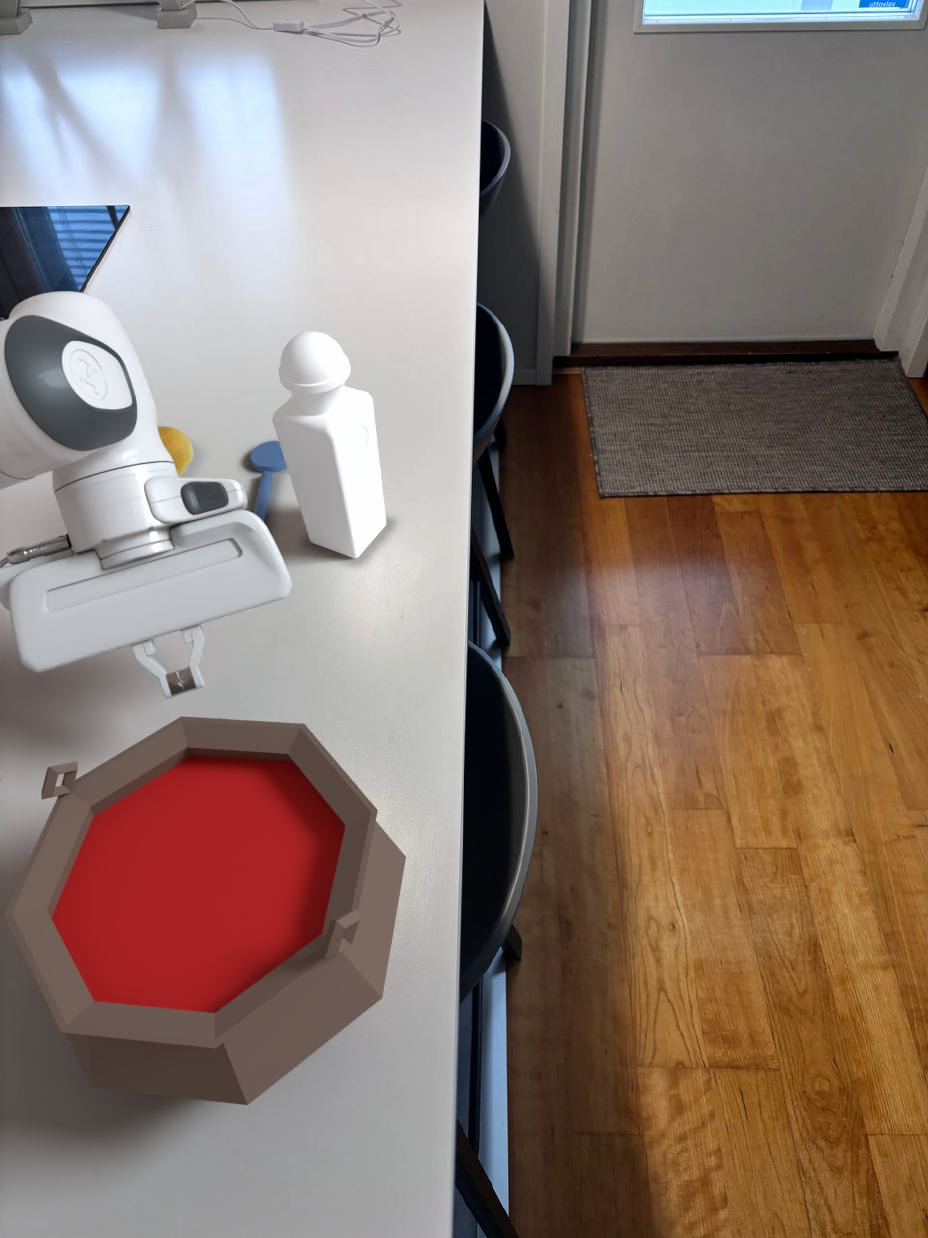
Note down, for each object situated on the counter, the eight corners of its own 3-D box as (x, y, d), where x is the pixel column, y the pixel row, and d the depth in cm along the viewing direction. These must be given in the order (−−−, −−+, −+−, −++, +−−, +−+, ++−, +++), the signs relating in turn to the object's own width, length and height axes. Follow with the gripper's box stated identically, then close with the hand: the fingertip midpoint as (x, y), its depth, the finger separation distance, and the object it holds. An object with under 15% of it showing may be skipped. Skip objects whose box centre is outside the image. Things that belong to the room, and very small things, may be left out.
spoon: (272, 572, 91) (270, 563, 90) (227, 575, 91) (224, 566, 90) (294, 446, 104) (292, 437, 103) (254, 448, 104) (252, 439, 103)
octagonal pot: (-2, 1028, 64) (-131, 925, 51) (223, 757, 77) (162, 624, 65) (286, 1229, 55) (213, 1163, 43) (483, 884, 68) (470, 759, 56)
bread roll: (201, 477, 101) (191, 447, 98) (116, 499, 99) (103, 470, 96) (189, 433, 106) (179, 403, 103) (108, 453, 105) (96, 424, 102)
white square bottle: (357, 564, 91) (317, 366, 74) (302, 544, 93) (251, 347, 77) (394, 522, 94) (362, 325, 78) (340, 503, 97) (298, 308, 80)
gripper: (-29, 554, 66) (36, 742, 67) (259, 475, 70) (315, 654, 71) (-4, 558, 72) (55, 731, 73) (259, 485, 76) (311, 650, 77)
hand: (185, 692), depth 72 cm, fingers closed
